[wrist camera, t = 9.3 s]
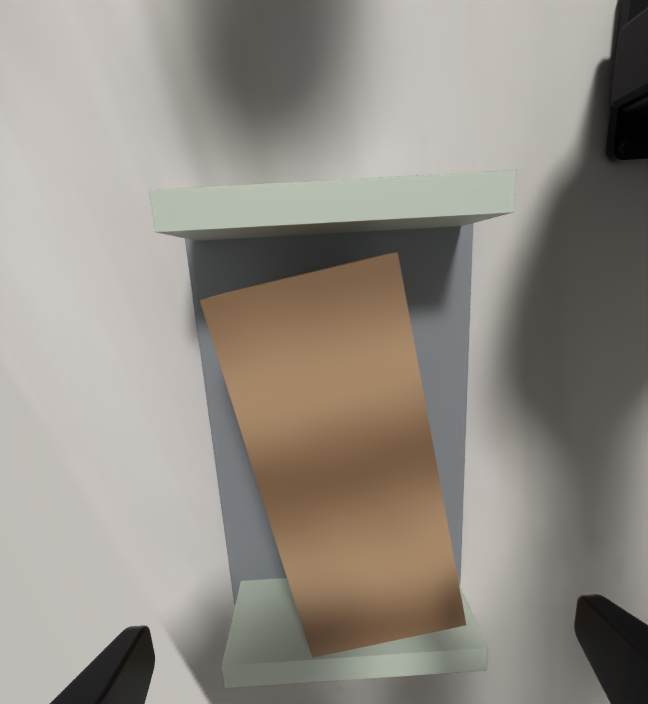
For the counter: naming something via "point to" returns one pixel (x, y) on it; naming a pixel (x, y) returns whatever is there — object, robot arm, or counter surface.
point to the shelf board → (342, 450)
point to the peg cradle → (433, 359)
